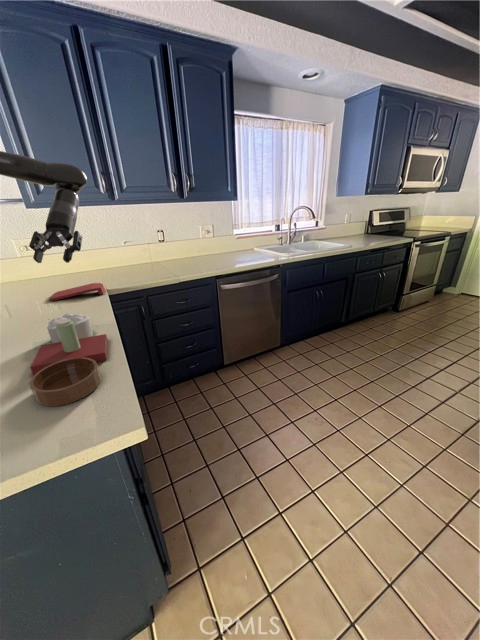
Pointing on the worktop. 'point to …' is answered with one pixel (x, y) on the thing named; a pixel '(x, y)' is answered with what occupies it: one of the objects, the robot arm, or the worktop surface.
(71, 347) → the pepper shaker
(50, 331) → the lumpy-topped squat cylinder
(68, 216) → the robot arm
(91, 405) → the worktop surface
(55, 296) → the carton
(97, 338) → the book
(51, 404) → the bowl
